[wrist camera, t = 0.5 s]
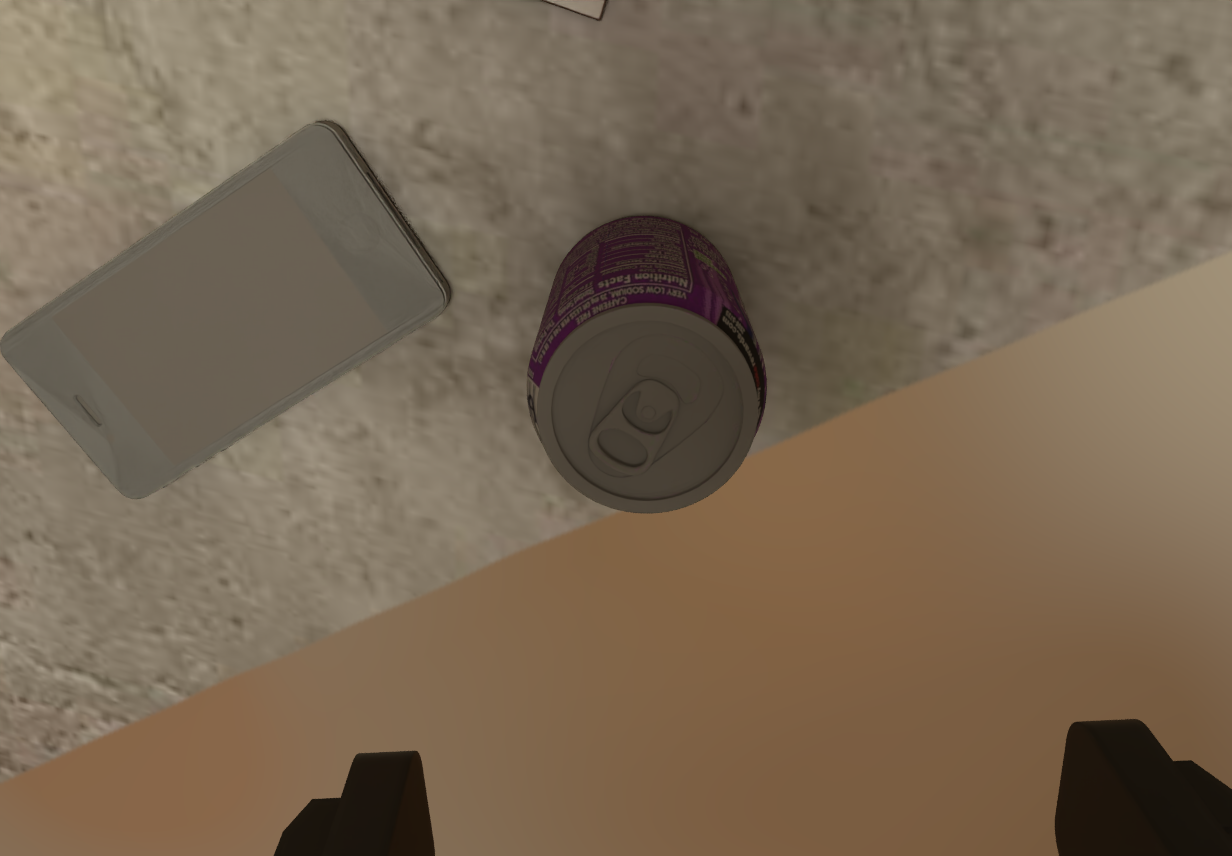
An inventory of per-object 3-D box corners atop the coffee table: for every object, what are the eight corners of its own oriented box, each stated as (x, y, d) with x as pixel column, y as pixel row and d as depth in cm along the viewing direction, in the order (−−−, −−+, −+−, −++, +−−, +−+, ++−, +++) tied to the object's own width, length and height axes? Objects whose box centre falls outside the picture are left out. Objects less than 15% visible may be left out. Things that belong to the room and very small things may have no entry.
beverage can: (667, 424, 42) (679, 570, 31) (516, 330, 40) (471, 446, 29) (772, 279, 40) (827, 379, 28) (616, 174, 38) (610, 236, 27)
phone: (460, 299, 40) (455, 308, 39) (144, 496, 43) (130, 509, 42) (331, 111, 38) (321, 114, 36) (6, 334, 41) (-13, 343, 40)
